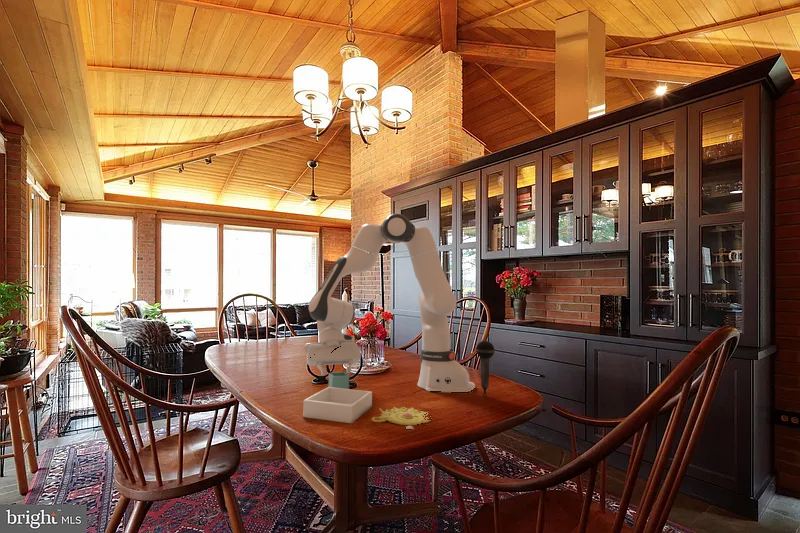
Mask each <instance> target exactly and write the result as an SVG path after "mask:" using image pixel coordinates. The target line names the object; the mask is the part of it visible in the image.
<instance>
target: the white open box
mask: <svg viewBox="0 0 800 533" xmlns="http://www.w3.org/2000/svg"><path fill="white" fill-rule="evenodd" d="M302 404H303V405H302V407H303V409H302V410H303V412H302V418H308V419H315V420H316V419H317V420H322V421H331V422H337V423H347V424H353V423H354V422H355V421H356V420H358V419H359V418H360V417H361V416H362V415H364V414H365V413H367V412H368V410H370V409H371V408H373V391H370V390H364V389H363V390H362V389H361V390H359V389H351V388H349V389H344V388H335V387H329V386H328V387H326V388H323V389H322V390H320V391H317V392H315V393H314V394H312V395H311V396H309V397H307V398H305V399H303V403H302Z"/></svg>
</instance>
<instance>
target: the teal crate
mask: <svg viewBox="0 0 800 533" xmlns="http://www.w3.org/2000/svg"><path fill="white" fill-rule="evenodd" d="M328 387H335V388H344V389H350V375H349V373H347V371H337V372H328Z"/></svg>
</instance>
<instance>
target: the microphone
mask: <svg viewBox="0 0 800 533" xmlns="http://www.w3.org/2000/svg"><path fill="white" fill-rule="evenodd" d="M495 351H496V349H495V347H494V345H493V343H492V342H491V341H488V340H483V341H480V342H478V344H477V345H476V347H475V352H476V354H477V356H478V357H479V358H480V383H481V384H480V386H481V388H482V389H483V394H482V395H487V390H488V389H489V387H490V384H489V382H490V362H491V358H492V357H493V356H494V354H495Z"/></svg>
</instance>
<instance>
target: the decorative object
mask: <svg viewBox="0 0 800 533" xmlns="http://www.w3.org/2000/svg"><path fill="white" fill-rule="evenodd" d="M378 409H379V410H380V411H379V412H380V414H379V415H380V416H373V417H371V421H373V422H375V423H384V422H386V421H388V422H389V423H393V424H396V425H400V426H405V427H406V429H413V428H414V426H418V425H417V424H419V425H422V424H421V423H423V424H427V423H429V422H431V421H432V420H427V419H429V418H428V417H426V418H425V416H427V415H428V414H429V413H428V412H429V411H420V410H421V409H415V407H410V408H407V407H405V406H402V407H395V406H393V407H392V408H385V410H383V409H382V408H380V407H379V408H378ZM426 413H427V414H426ZM424 414H426V415H424ZM423 416H424V417H423ZM424 418H425V419H426V420H425V419H424ZM406 429H405V430H406ZM413 430H414V429H413Z"/></svg>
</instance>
